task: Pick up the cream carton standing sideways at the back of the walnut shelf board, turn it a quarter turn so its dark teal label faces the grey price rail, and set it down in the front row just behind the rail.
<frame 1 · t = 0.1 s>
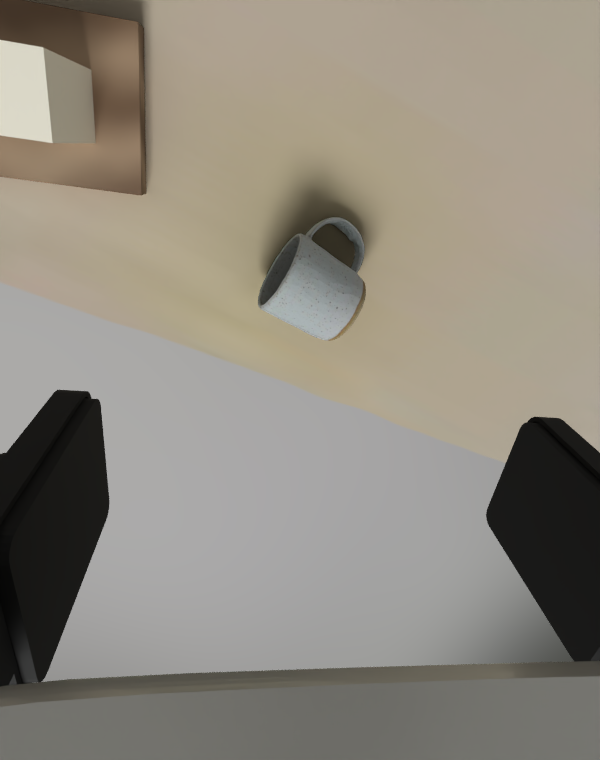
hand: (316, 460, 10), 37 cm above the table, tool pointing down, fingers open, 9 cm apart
carton: (49, 136, 36), point 2 cm above the table, touching shelf board
ceramic mug: (312, 267, 45), on the table
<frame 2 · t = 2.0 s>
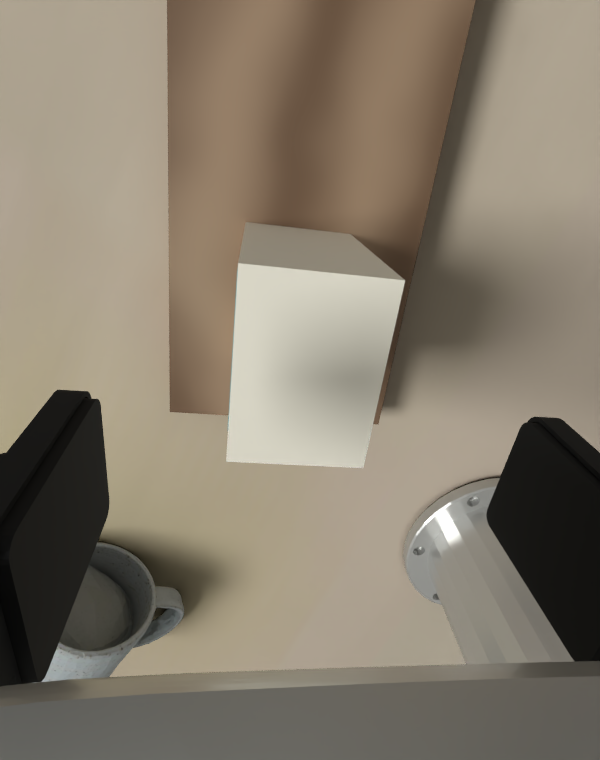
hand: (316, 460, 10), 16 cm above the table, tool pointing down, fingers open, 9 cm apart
carton: (241, 295, 22), point 2 cm above the table, touching shelf board
shelf board: (299, 191, 22), on the table
ceramic mug: (115, 580, 34), on the table
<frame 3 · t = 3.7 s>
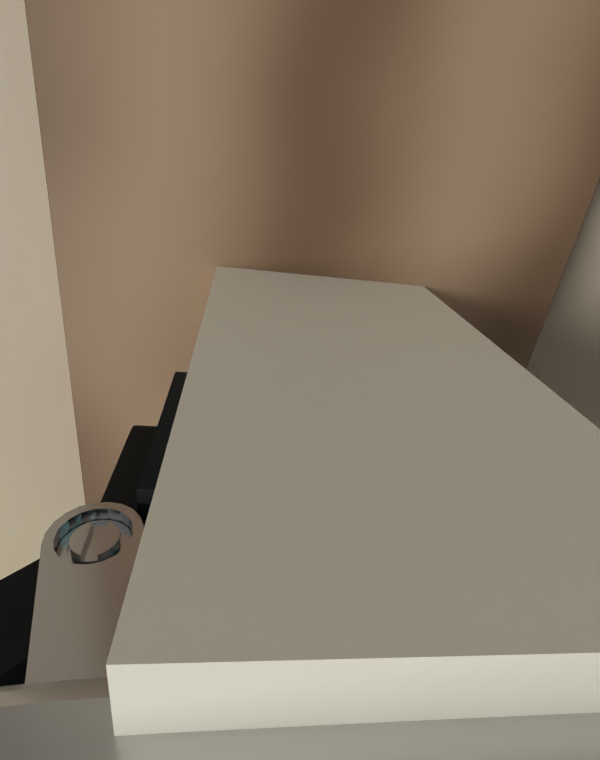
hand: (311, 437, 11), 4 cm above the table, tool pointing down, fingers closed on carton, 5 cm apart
carton: (212, 398, 12), point 2 cm above the table, touching gripper, shelf board
shelf board: (320, 200, 12), on the table
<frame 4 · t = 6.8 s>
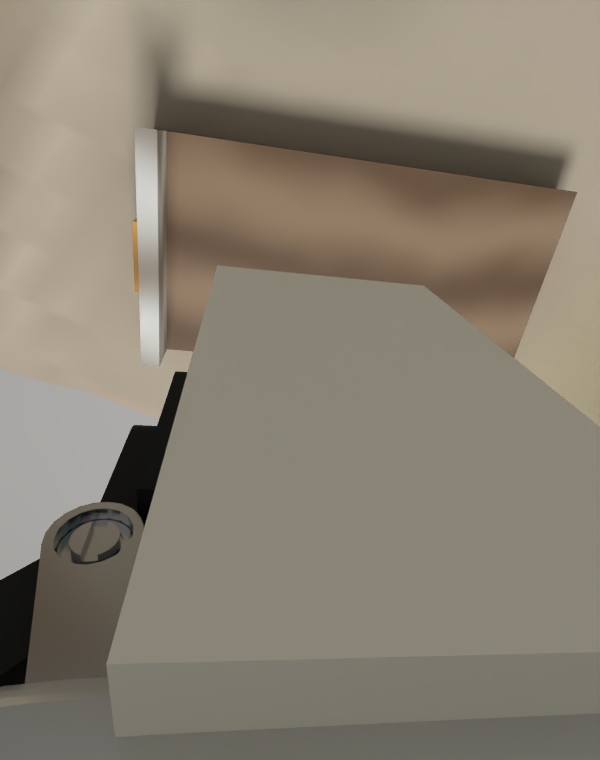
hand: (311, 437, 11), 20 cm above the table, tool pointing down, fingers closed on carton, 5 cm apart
carton: (212, 397, 12), point 18 cm above the table, touching gripper
shelf board: (349, 264, 29), on the table
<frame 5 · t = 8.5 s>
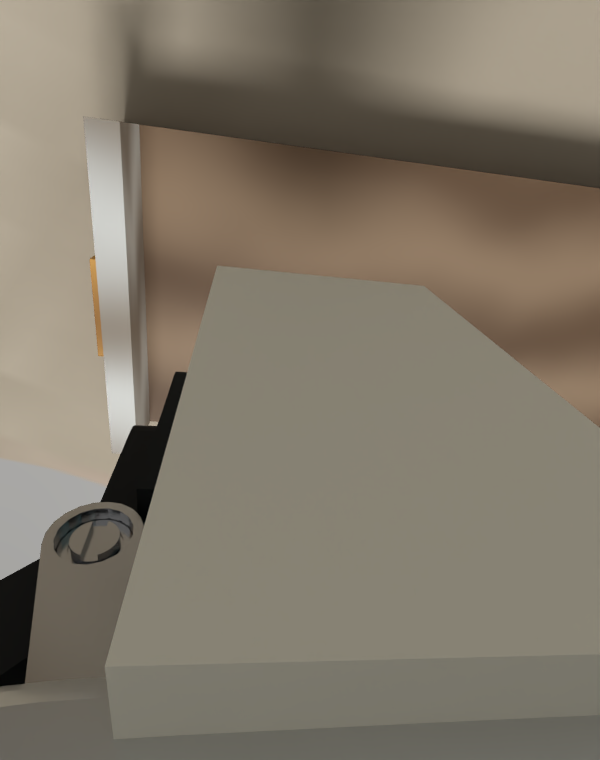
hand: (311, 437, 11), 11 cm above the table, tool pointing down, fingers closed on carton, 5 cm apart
carton: (212, 398, 12), point 10 cm above the table, touching gripper
shelf board: (395, 304, 21), on the table
when the fingers open (5 cm above the table, at t = 10.1 s): carton drops 1 cm, resting on shelf board.
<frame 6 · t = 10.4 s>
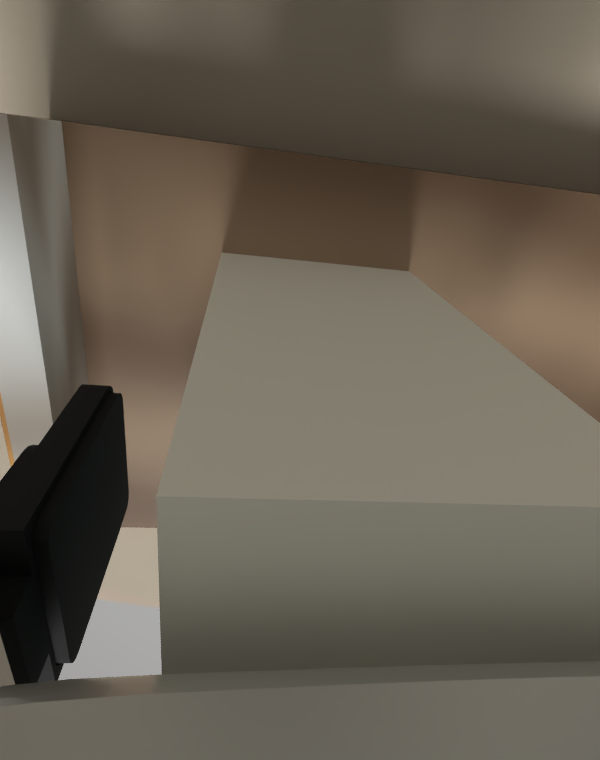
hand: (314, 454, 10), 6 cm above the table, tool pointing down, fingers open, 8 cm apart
carton: (216, 374, 13), point 2 cm above the table, touching shelf board
shelf board: (434, 363, 16), on the table
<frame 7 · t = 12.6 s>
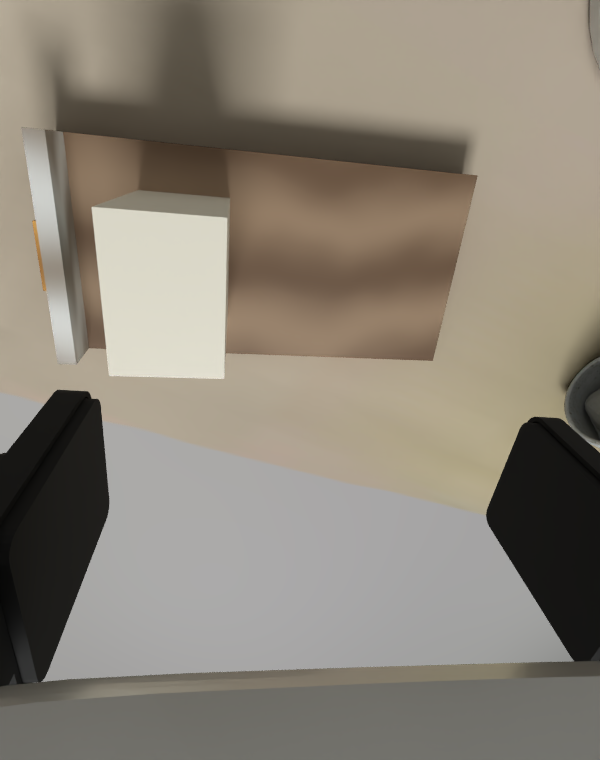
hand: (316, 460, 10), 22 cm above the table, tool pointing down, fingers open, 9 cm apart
carton: (142, 254, 26), point 2 cm above the table, touching shelf board
shelf board: (267, 257, 29), on the table
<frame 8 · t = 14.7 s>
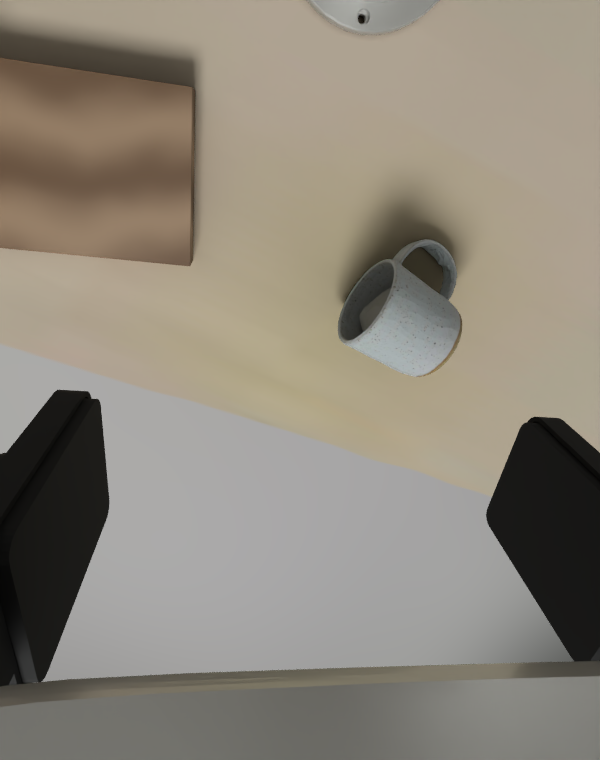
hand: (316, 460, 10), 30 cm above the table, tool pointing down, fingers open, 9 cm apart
shelf board: (26, 161, 33), on the table
ceramic mug: (394, 293, 41), on the table
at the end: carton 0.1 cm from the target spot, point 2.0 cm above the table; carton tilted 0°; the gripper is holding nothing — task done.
